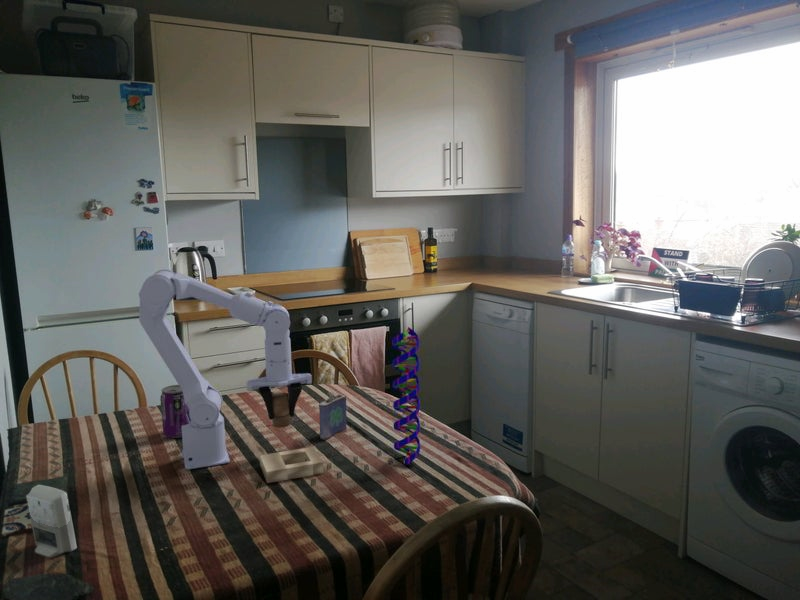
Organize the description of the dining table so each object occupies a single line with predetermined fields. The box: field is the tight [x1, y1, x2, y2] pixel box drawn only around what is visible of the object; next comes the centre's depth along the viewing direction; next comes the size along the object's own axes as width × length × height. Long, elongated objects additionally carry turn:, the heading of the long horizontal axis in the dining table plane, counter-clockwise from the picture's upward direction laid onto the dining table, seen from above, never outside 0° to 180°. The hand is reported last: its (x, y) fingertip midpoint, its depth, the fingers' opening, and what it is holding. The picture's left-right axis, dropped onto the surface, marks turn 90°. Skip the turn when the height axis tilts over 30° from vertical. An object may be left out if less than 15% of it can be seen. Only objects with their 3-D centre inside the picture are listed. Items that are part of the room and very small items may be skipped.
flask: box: [318, 391, 348, 441], centre depth 158 cm, size 9×3×11 cm, turn 146°
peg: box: [272, 391, 292, 429], centre depth 146 cm, size 4×4×7 cm
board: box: [259, 446, 324, 484], centre depth 138 cm, size 12×9×2 cm
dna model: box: [391, 327, 421, 466], centre depth 140 cm, size 6×6×30 cm
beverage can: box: [159, 384, 191, 439], centre depth 159 cm, size 7×7×12 cm
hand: (281, 416), depth 146 cm, fingers closed on peg, 4 cm apart
